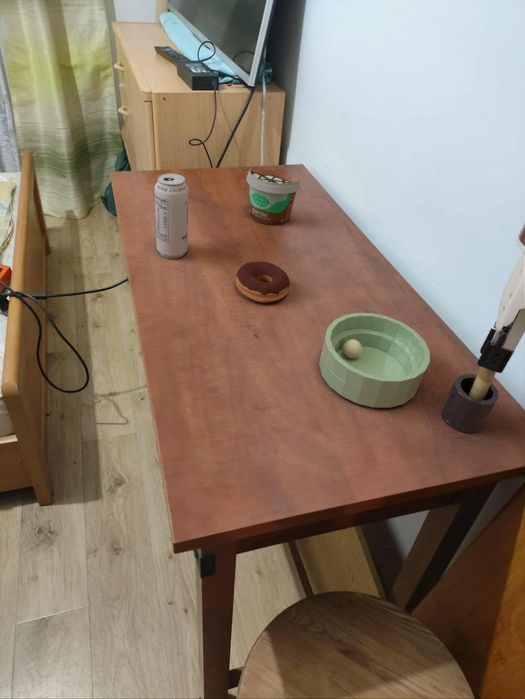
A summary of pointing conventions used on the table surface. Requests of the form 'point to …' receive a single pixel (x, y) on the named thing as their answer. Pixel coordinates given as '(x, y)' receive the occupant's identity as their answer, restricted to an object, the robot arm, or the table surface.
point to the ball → (352, 348)
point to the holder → (467, 405)
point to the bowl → (374, 360)
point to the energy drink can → (171, 215)
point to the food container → (271, 198)
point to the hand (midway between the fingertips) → (490, 361)
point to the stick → (482, 382)
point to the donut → (257, 290)
